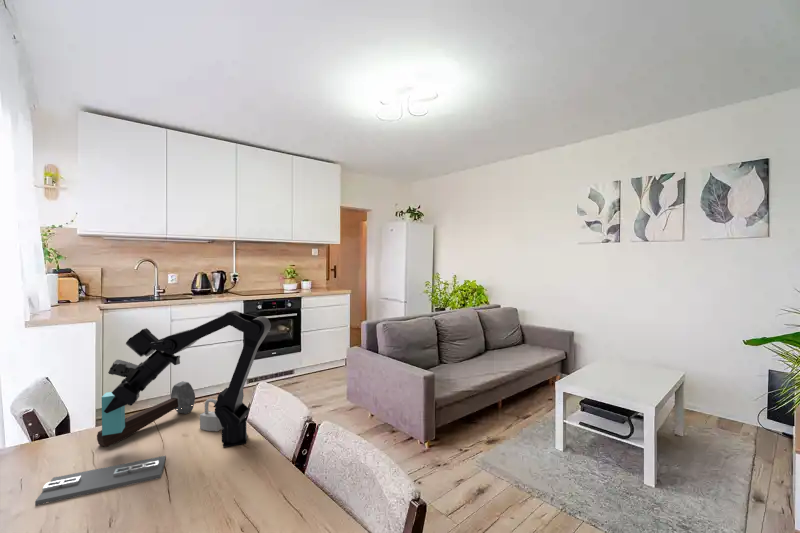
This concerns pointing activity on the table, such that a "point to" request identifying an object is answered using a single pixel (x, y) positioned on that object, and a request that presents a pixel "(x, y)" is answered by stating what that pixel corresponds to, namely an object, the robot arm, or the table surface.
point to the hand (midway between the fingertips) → (107, 409)
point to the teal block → (112, 417)
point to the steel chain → (117, 473)
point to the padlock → (209, 418)
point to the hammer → (153, 413)
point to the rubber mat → (101, 480)
